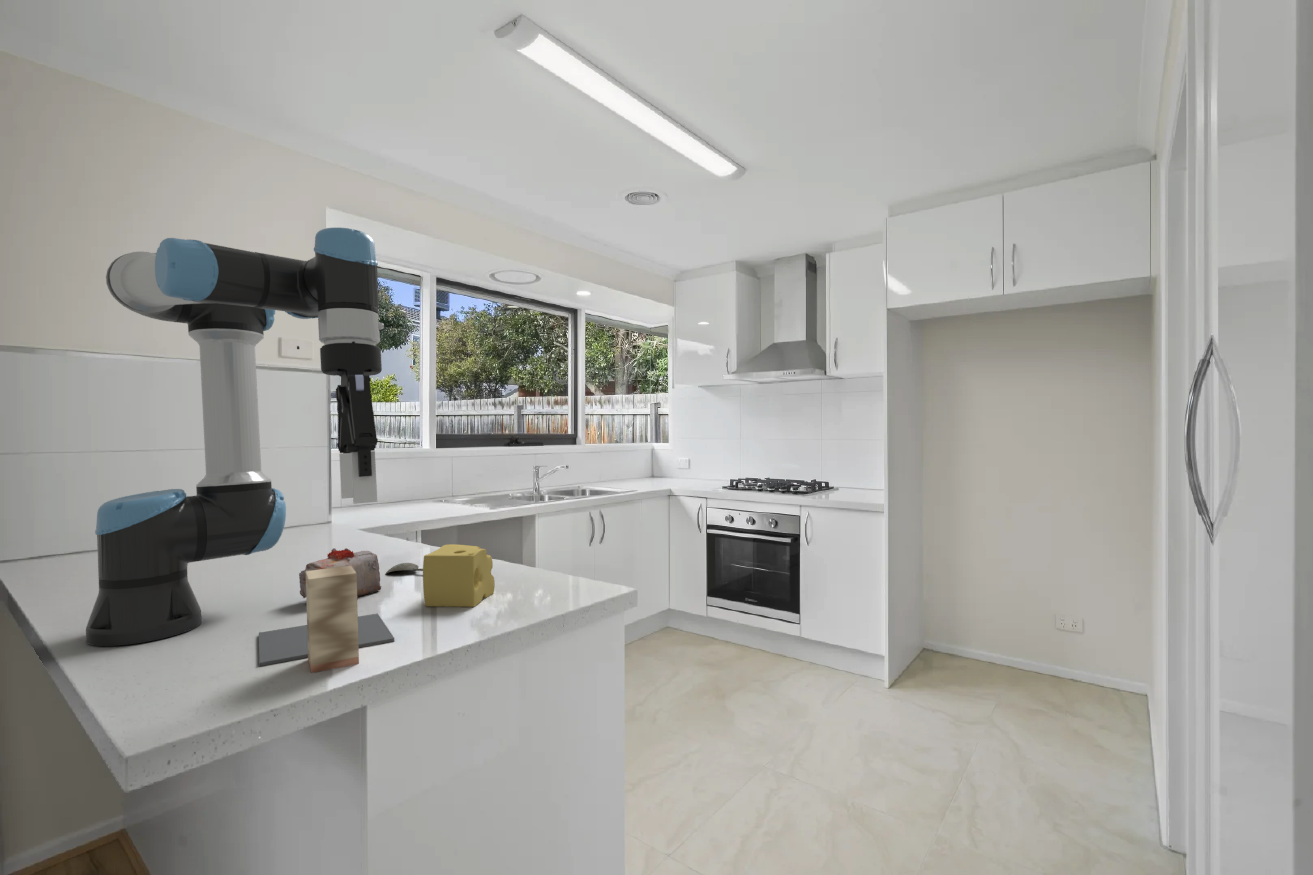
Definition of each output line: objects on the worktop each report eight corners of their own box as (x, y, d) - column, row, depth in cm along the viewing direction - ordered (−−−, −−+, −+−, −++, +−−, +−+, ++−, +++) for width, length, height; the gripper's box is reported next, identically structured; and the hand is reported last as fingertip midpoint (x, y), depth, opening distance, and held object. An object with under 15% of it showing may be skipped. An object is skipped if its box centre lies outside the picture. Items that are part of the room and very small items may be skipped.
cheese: (495, 593, 128) (494, 543, 127) (474, 608, 117) (473, 554, 117) (445, 592, 129) (444, 543, 128) (420, 608, 118) (419, 554, 118)
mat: (259, 666, 90) (259, 662, 90) (258, 635, 103) (258, 632, 103) (394, 641, 99) (394, 637, 99) (377, 616, 113) (377, 613, 113)
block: (311, 672, 87) (308, 579, 87) (308, 659, 92) (305, 571, 92) (358, 663, 90) (356, 573, 90) (353, 651, 95) (351, 565, 95)
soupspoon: (402, 572, 152) (380, 580, 146) (401, 558, 152) (378, 565, 146) (472, 577, 142) (450, 586, 136) (471, 563, 142) (449, 570, 136)
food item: (321, 609, 118) (320, 557, 118) (296, 604, 122) (294, 553, 122) (384, 592, 130) (383, 544, 130) (359, 587, 134) (358, 541, 134)
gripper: (396, 330, 78) (405, 502, 78) (367, 358, 99) (373, 493, 99) (328, 327, 74) (337, 508, 74) (313, 357, 95) (319, 498, 95)
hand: (358, 500), depth 86 cm, fingers open, 13 cm apart
